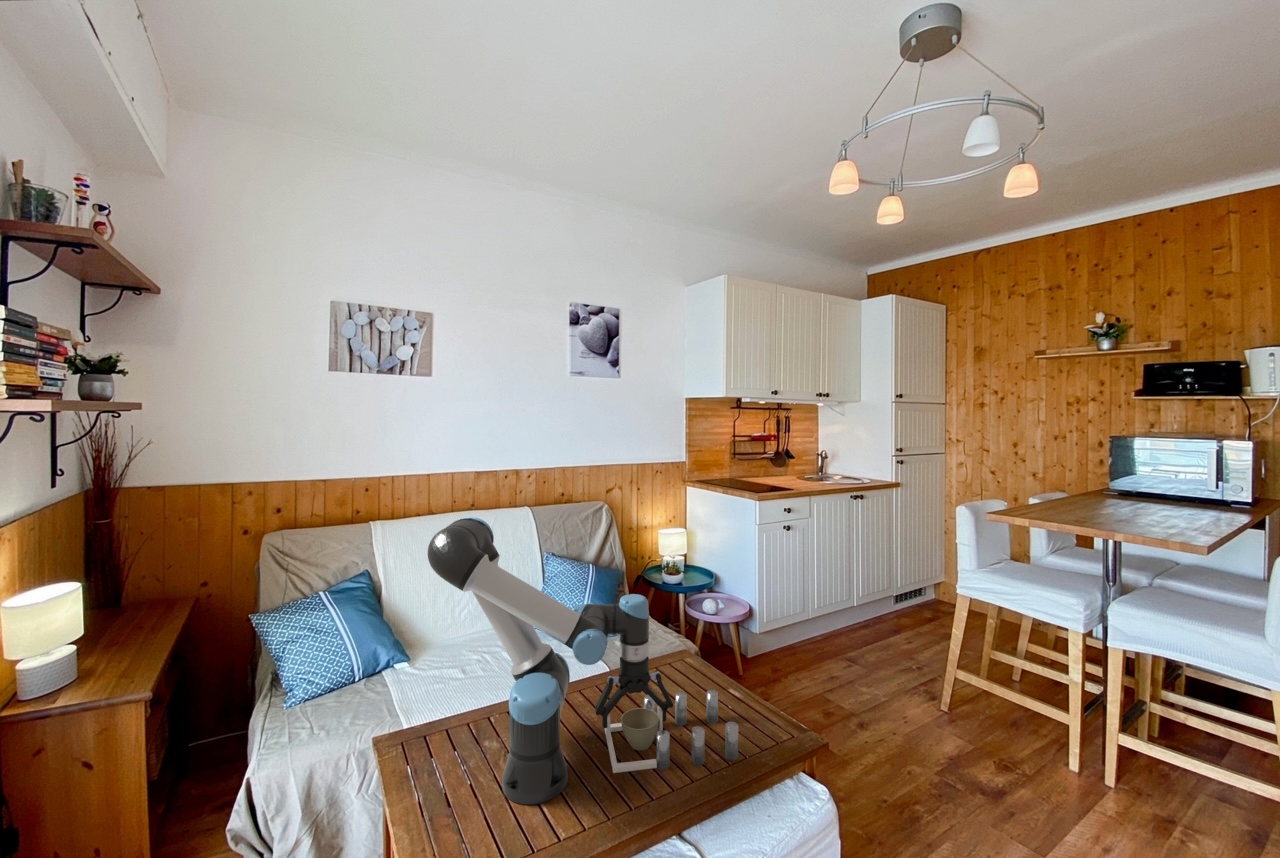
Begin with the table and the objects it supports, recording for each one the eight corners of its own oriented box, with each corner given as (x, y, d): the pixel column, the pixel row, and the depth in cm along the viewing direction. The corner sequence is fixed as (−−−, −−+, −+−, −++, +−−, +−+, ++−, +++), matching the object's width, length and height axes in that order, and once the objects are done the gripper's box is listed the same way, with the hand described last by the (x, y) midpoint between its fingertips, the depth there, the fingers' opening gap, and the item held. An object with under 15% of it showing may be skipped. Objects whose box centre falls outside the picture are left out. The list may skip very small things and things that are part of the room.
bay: (613, 772, 131) (613, 768, 131) (604, 729, 149) (604, 724, 149) (656, 767, 133) (656, 763, 133) (643, 725, 151) (643, 720, 151)
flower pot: (667, 744, 141) (666, 718, 141) (639, 762, 135) (638, 734, 134) (642, 728, 149) (641, 703, 149) (613, 744, 142) (613, 717, 142)
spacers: (657, 770, 132) (658, 738, 132) (642, 722, 152) (642, 695, 151) (740, 760, 136) (740, 729, 135) (715, 715, 156) (715, 688, 155)
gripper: (587, 667, 134) (587, 750, 135) (684, 658, 139) (684, 739, 140) (584, 653, 142) (585, 732, 142) (677, 646, 146) (677, 722, 147)
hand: (634, 736), depth 141 cm, fingers open, 13 cm apart
